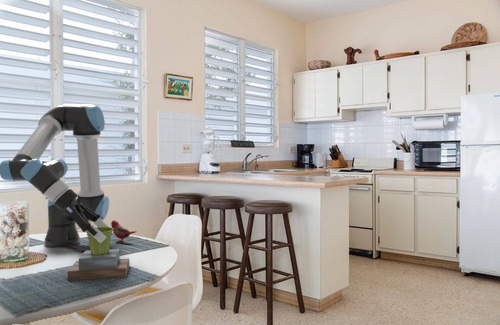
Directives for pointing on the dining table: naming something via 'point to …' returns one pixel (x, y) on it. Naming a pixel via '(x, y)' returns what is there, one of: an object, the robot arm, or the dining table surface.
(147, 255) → the dining table surface
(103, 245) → the plant pot
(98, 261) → the brick stand
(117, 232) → the decorative bird figurine
